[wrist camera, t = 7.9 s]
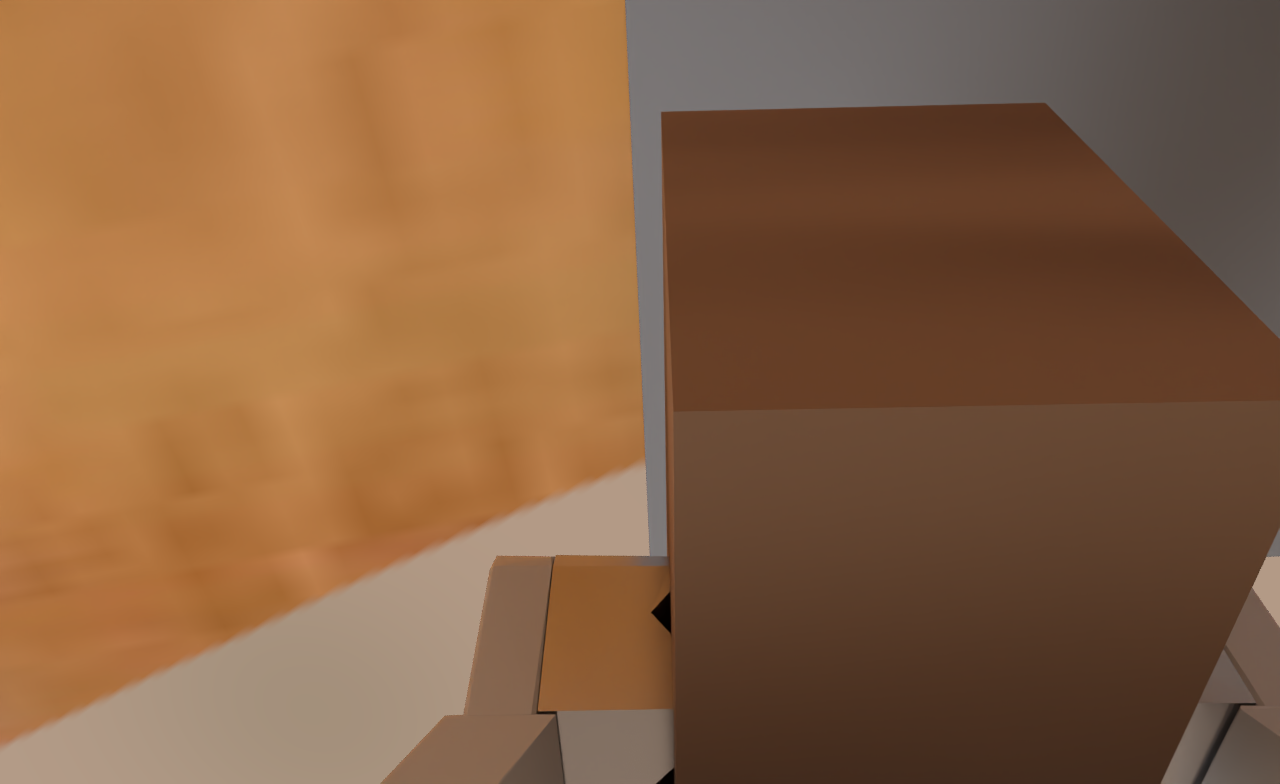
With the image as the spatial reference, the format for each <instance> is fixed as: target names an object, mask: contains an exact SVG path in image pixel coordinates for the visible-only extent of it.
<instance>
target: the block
mask: <svg viewBox="0 0 1280 784" xmlns="http://www.w3.org/2000/svg"><path fill="white" fill-rule="evenodd" d="M661 151H662V225H663V300H664V374H665V449H666V523H667V556H669V568H670V618H671V635H672V669H673V705H674V784H1161V782H1162V780H1163V777H1164V775H1165V773H1166V771H1167V769H1168V767H1169V765H1170V762H1171V760H1172V758H1173V756H1174V754H1175V752H1176V750H1177V747H1178V745H1179V743H1180V741H1181V739H1182V737H1183V734H1184V732H1185V730H1186V728H1187V726H1188V724H1189V722H1190V719H1191V717H1192V715H1193V713H1194V711H1195V709H1196V707H1197V704H1198V702H1199V700H1200V698H1201V696H1202V694H1203V692H1204V689H1205V687H1206V685H1207V683H1208V681H1209V679H1210V676H1211V674H1212V672H1213V670H1214V668H1215V666H1216V664H1217V661H1218V659H1219V657H1220V655H1221V653H1222V651H1223V649H1224V646H1225V644H1226V642H1227V640H1228V638H1229V636H1230V633H1231V631H1232V629H1233V627H1234V625H1235V623H1236V621H1237V618H1238V616H1239V614H1240V612H1241V610H1242V608H1243V606H1244V603H1245V601H1246V599H1247V597H1248V595H1249V593H1250V591H1251V588H1252V586H1253V584H1254V582H1255V580H1256V578H1257V575H1258V573H1259V571H1260V569H1261V567H1262V565H1263V562H1264V560H1265V558H1266V556H1267V554H1268V552H1269V550H1270V548H1271V545H1272V543H1273V541H1274V539H1275V537H1276V535H1277V532H1278V530H1279V528H1280V339H1279V338H1278V337H1277V336H1276V335H1275V334H1274V333H1273V332H1272V331H1271V330H1270V329H1269V328H1268V327H1267V326H1266V325H1265V324H1264V323H1263V322H1262V321H1261V320H1260V319H1259V318H1258V317H1257V316H1256V315H1255V314H1254V313H1253V312H1252V311H1251V310H1250V309H1249V308H1248V307H1247V306H1246V305H1245V304H1244V303H1243V302H1242V301H1241V300H1240V298H1239V297H1238V296H1237V295H1236V294H1235V293H1234V292H1233V291H1232V290H1231V289H1230V288H1229V287H1228V286H1227V285H1226V284H1225V283H1224V282H1223V281H1222V280H1221V279H1220V278H1219V277H1218V276H1217V275H1216V274H1215V273H1214V272H1213V271H1212V270H1211V269H1210V268H1209V267H1208V266H1207V265H1206V264H1205V263H1204V262H1203V261H1202V260H1201V259H1200V258H1199V257H1198V256H1197V255H1196V254H1195V253H1194V252H1193V251H1192V250H1191V249H1190V248H1189V247H1188V246H1187V245H1186V244H1185V243H1184V242H1183V241H1182V240H1181V239H1180V238H1179V237H1178V236H1177V235H1176V234H1175V233H1174V232H1173V231H1172V230H1171V229H1170V228H1169V227H1168V226H1167V225H1166V224H1165V223H1164V222H1163V221H1162V220H1161V219H1160V218H1159V217H1158V216H1157V215H1156V214H1155V213H1154V212H1153V211H1152V210H1151V209H1150V208H1149V207H1148V206H1147V205H1146V204H1145V203H1144V202H1143V201H1142V200H1141V199H1140V198H1139V197H1138V196H1137V195H1136V194H1135V193H1134V192H1133V191H1132V190H1131V189H1130V188H1129V187H1128V186H1127V185H1126V184H1125V183H1124V182H1123V181H1122V180H1121V179H1120V178H1119V177H1118V176H1117V175H1116V174H1115V173H1114V172H1113V171H1112V170H1111V169H1110V167H1109V166H1108V165H1107V164H1106V163H1105V162H1104V161H1103V160H1102V159H1101V158H1100V157H1099V156H1098V155H1097V154H1096V153H1095V152H1094V151H1093V150H1092V149H1091V148H1090V147H1089V146H1088V145H1087V144H1086V143H1085V142H1084V141H1083V140H1082V139H1081V138H1080V137H1079V136H1078V135H1077V134H1076V133H1075V132H1074V131H1073V130H1072V129H1071V128H1070V127H1069V126H1068V125H1067V124H1066V123H1065V122H1064V121H1063V120H1062V119H1061V118H1060V117H1059V116H1058V115H1057V114H1056V113H1055V112H1054V111H1053V110H1052V109H1051V108H1050V107H1049V106H1048V105H1047V104H1046V103H1005V104H963V105H921V106H879V107H837V108H795V109H752V110H710V111H668V112H661Z"/></svg>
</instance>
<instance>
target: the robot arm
mask: <svg viewBox="0 0 1280 784" xmlns="http://www.w3.org/2000/svg"><path fill="white" fill-rule="evenodd" d="M381 784H674V705H673V669H672V635H671V618H670V568H669V556H580V555H579V556H578V555H556V557H543V556H542V557H541V556H497V557H496V559H495V561H494V563H493V565H492V567H491V569H490V572H489V577H488V583H487V588H486V593H485V600H484V605H483V610H482V616H481V621H480V626H479V632H478V637H477V643H476V649H475V654H474V659H473V665H472V671H471V676H470V681H469V687H468V692H467V698H466V703H465V709H464V714H463V715H449V716H448V715H447V716H444V717H443V718H442V719H441V720H440V722H438V724H437V725H436V726H435V727H434V728H433V729H432V730H431V731H430V732H429V733H428V734H427V735H426V736H425V737H424V738H423V739H422V740H421V741H420V742H419V744H418V745H417V746H416V747H415V748H414V749H413V750H412V751H411V752H410V753H409V754H408V755H407V756H406V757H405V758H404V759H403V761H402V762H400V764H399V765H398V766H397V767H396V768H395V769H394V770H393V771H392V772H391V773H390V774H389V775H388V776H387V778H385V779H384V780H383V781H382V782H381ZM1161 784H1280V628H1279V626H1278V625H1277V623H1276V622H1275V620H1274V619H1273V617H1272V616H1271V614H1270V613H1269V612H1268V610H1267V609H1266V607H1265V606H1264V605H1263V603H1262V602H1261V600H1260V599H1259V597H1258V596H1257V594H1256V593H1255V591H1254V590H1253V588H1251V591H1250V593H1249V595H1248V597H1247V599H1246V601H1245V603H1244V606H1243V608H1242V610H1241V612H1240V614H1239V616H1238V618H1237V621H1236V623H1235V625H1234V627H1233V629H1232V631H1231V633H1230V636H1229V638H1228V640H1227V642H1226V644H1225V646H1224V649H1223V651H1222V653H1221V655H1220V657H1219V659H1218V661H1217V664H1216V666H1215V668H1214V670H1213V672H1212V674H1211V676H1210V679H1209V681H1208V683H1207V685H1206V687H1205V689H1204V692H1203V694H1202V696H1201V698H1200V700H1199V702H1198V704H1197V707H1196V709H1195V711H1194V713H1193V715H1192V717H1191V719H1190V722H1189V724H1188V726H1187V728H1186V730H1185V732H1184V734H1183V737H1182V739H1181V741H1180V743H1179V745H1178V747H1177V750H1176V752H1175V754H1174V756H1173V758H1172V760H1171V762H1170V765H1169V767H1168V769H1167V771H1166V773H1165V775H1164V777H1163V780H1162V782H1161Z"/></svg>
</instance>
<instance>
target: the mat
mask: <svg viewBox="0 0 1280 784" xmlns="http://www.w3.org/2000/svg"><path fill="white" fill-rule="evenodd" d="M625 7H626V29H627V52H628V74H629V97H630V120H631V142H632V165H633V187H634V210H635V232H636V255H637V277H638V300H639V323H640V345H641V368H642V390H643V413H644V435H645V458H646V479H647V480H646V481H647V501H648V526H649V545H650V546H649V547H650V556H667V523H666V449H665V374H664V300H663V225H662V151H661V112H668V111H710V110H752V109H795V108H837V107H879V106H921V105H963V104H1005V103H1046V104H1047V105H1048V106H1049V107H1050V108H1051V109H1052V110H1053V111H1054V112H1055V113H1056V114H1057V115H1058V116H1059V117H1060V118H1061V119H1062V120H1063V121H1064V122H1065V123H1066V124H1067V125H1068V126H1069V127H1070V128H1071V129H1072V130H1073V131H1074V132H1075V133H1076V134H1077V135H1078V136H1079V137H1080V138H1081V139H1082V140H1083V141H1084V142H1085V143H1086V144H1087V145H1088V146H1089V147H1090V148H1091V149H1092V150H1093V151H1094V152H1095V153H1096V154H1097V155H1098V156H1099V157H1100V158H1101V159H1102V160H1103V161H1104V162H1105V163H1106V164H1107V165H1108V166H1109V167H1110V169H1111V170H1112V171H1113V172H1114V173H1115V174H1116V175H1117V176H1118V177H1119V178H1120V179H1121V180H1122V181H1123V182H1124V183H1125V184H1126V185H1127V186H1128V187H1129V188H1130V189H1131V190H1132V191H1133V192H1134V193H1135V194H1136V195H1137V196H1138V197H1139V198H1140V199H1141V200H1142V201H1143V202H1144V203H1145V204H1146V205H1147V206H1148V207H1149V208H1150V209H1151V210H1152V211H1153V212H1154V213H1155V214H1156V215H1157V216H1158V217H1159V218H1160V219H1161V220H1162V221H1163V222H1164V223H1165V224H1166V225H1167V226H1168V227H1169V228H1170V229H1171V230H1172V231H1173V232H1174V233H1175V234H1176V235H1177V236H1178V237H1179V238H1180V239H1181V240H1182V241H1183V242H1184V243H1185V244H1186V245H1187V246H1188V247H1189V248H1190V249H1191V250H1192V251H1193V252H1194V253H1195V254H1196V255H1197V256H1198V257H1199V258H1200V259H1201V260H1202V261H1203V262H1204V263H1205V264H1206V265H1207V266H1208V267H1209V268H1210V269H1211V270H1212V271H1213V272H1214V273H1215V274H1216V275H1217V276H1218V277H1219V278H1220V279H1221V280H1222V281H1223V282H1224V283H1225V284H1226V285H1227V286H1228V287H1229V288H1230V289H1231V290H1232V291H1233V292H1234V293H1235V294H1236V295H1237V296H1238V297H1239V298H1240V300H1241V301H1242V302H1243V303H1244V304H1245V305H1246V306H1247V307H1248V308H1249V309H1250V310H1251V311H1252V312H1253V313H1254V314H1255V315H1256V316H1257V317H1258V318H1259V319H1260V320H1261V321H1262V322H1263V323H1264V324H1265V325H1266V326H1267V327H1268V328H1269V329H1270V330H1271V331H1272V332H1273V333H1274V334H1275V335H1276V336H1277V337H1278V338H1279V339H1280V0H625ZM1268 556H1269V557H1271V556H1280V528H1279V530H1278V532H1277V535H1276V537H1275V539H1274V541H1273V543H1272V545H1271V548H1270V550H1269V552H1268V554H1267V556H1266V557H1268Z"/></svg>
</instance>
